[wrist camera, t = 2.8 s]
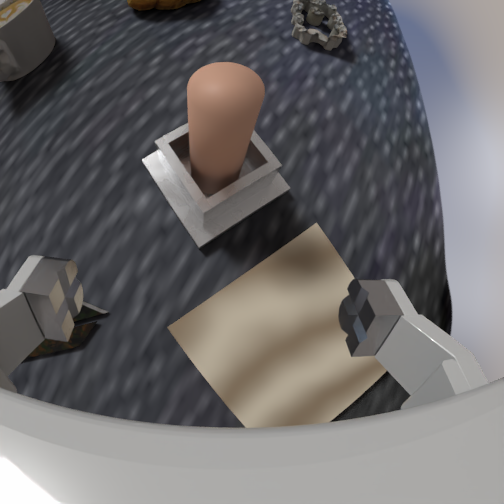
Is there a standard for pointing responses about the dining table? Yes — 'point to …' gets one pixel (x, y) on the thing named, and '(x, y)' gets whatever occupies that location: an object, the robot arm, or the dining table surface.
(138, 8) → the bread roll
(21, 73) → the coffee mug
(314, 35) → the egg carton
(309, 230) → the board
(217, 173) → the dowel
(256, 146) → the holder
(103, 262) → the dining table surface
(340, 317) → the robot arm
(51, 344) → the knife
